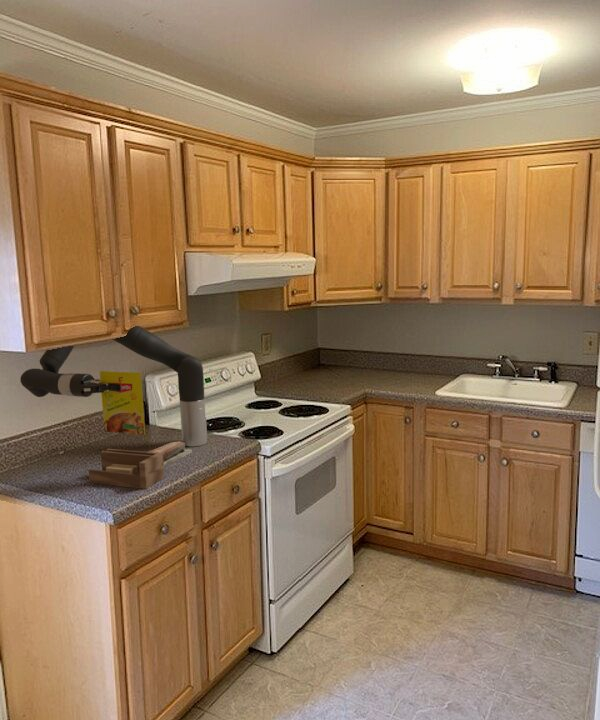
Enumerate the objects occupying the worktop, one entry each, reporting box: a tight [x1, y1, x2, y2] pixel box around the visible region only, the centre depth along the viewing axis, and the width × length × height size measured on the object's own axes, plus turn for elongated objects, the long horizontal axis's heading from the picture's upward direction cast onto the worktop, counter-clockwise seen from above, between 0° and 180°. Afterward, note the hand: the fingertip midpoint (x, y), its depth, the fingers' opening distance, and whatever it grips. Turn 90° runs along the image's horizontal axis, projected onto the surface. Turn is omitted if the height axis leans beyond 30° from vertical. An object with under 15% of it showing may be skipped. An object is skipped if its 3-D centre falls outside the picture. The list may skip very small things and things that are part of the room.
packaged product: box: [149, 440, 193, 467], centre depth 208 cm, size 18×5×10 cm
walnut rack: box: [88, 448, 165, 490], centre depth 187 cm, size 10×21×8 cm, turn 71°
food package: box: [99, 370, 146, 436], centre depth 188 cm, size 15×1×20 cm, turn 71°
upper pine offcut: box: [106, 464, 138, 474], centre depth 187 cm, size 4×9×2 cm, turn 71°
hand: (121, 387), depth 187 cm, fingers closed on food package, 1 cm apart
